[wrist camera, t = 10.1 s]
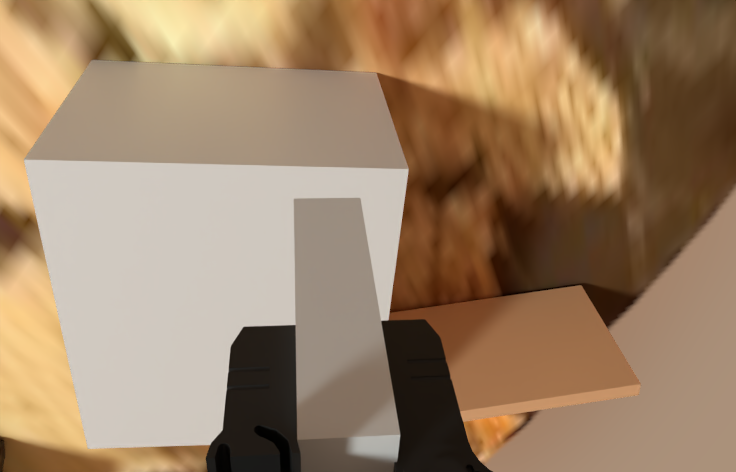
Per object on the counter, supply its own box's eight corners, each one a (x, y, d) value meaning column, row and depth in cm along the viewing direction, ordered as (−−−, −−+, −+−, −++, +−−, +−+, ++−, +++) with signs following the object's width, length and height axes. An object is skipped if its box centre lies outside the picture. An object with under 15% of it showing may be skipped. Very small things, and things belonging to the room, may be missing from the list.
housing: (91, 59, 37) (23, 159, 27) (376, 72, 39) (408, 169, 29) (130, 328, 48) (92, 469, 38) (352, 326, 50) (369, 459, 40)
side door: (581, 284, 50) (640, 383, 42) (578, 307, 51) (636, 407, 43) (355, 317, 49) (371, 424, 41) (358, 339, 50) (374, 447, 42)
